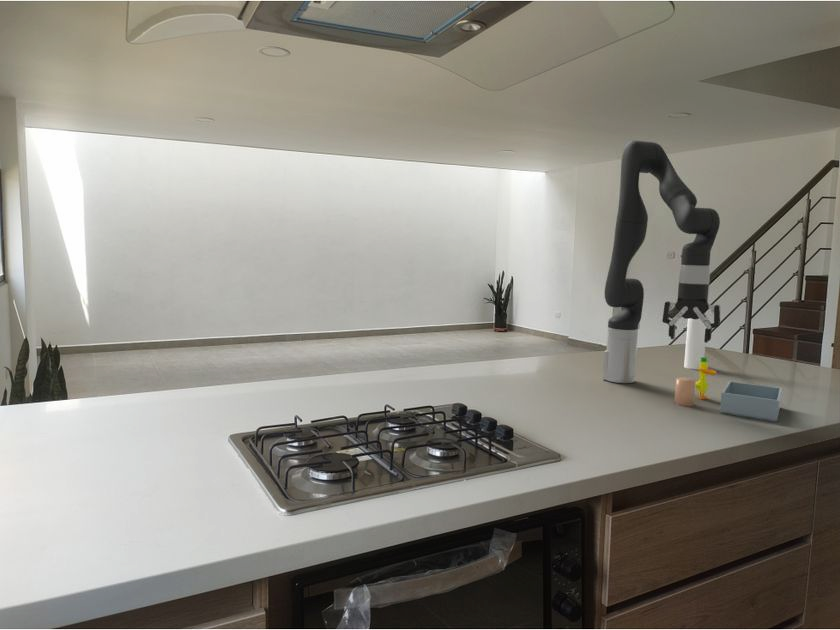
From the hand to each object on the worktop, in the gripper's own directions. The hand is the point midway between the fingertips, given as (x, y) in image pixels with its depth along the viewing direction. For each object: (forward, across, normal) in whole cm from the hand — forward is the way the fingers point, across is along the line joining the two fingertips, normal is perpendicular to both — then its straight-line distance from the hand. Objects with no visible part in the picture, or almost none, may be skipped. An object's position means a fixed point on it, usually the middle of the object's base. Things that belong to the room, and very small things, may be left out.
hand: (689, 340), depth 161 cm
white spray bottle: (+18, -6, +58) cm, 61 cm away
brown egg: (+18, 0, 0) cm, 18 cm away
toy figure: (+18, +4, +10) cm, 21 cm away
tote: (+18, +16, +4) cm, 24 cm away
